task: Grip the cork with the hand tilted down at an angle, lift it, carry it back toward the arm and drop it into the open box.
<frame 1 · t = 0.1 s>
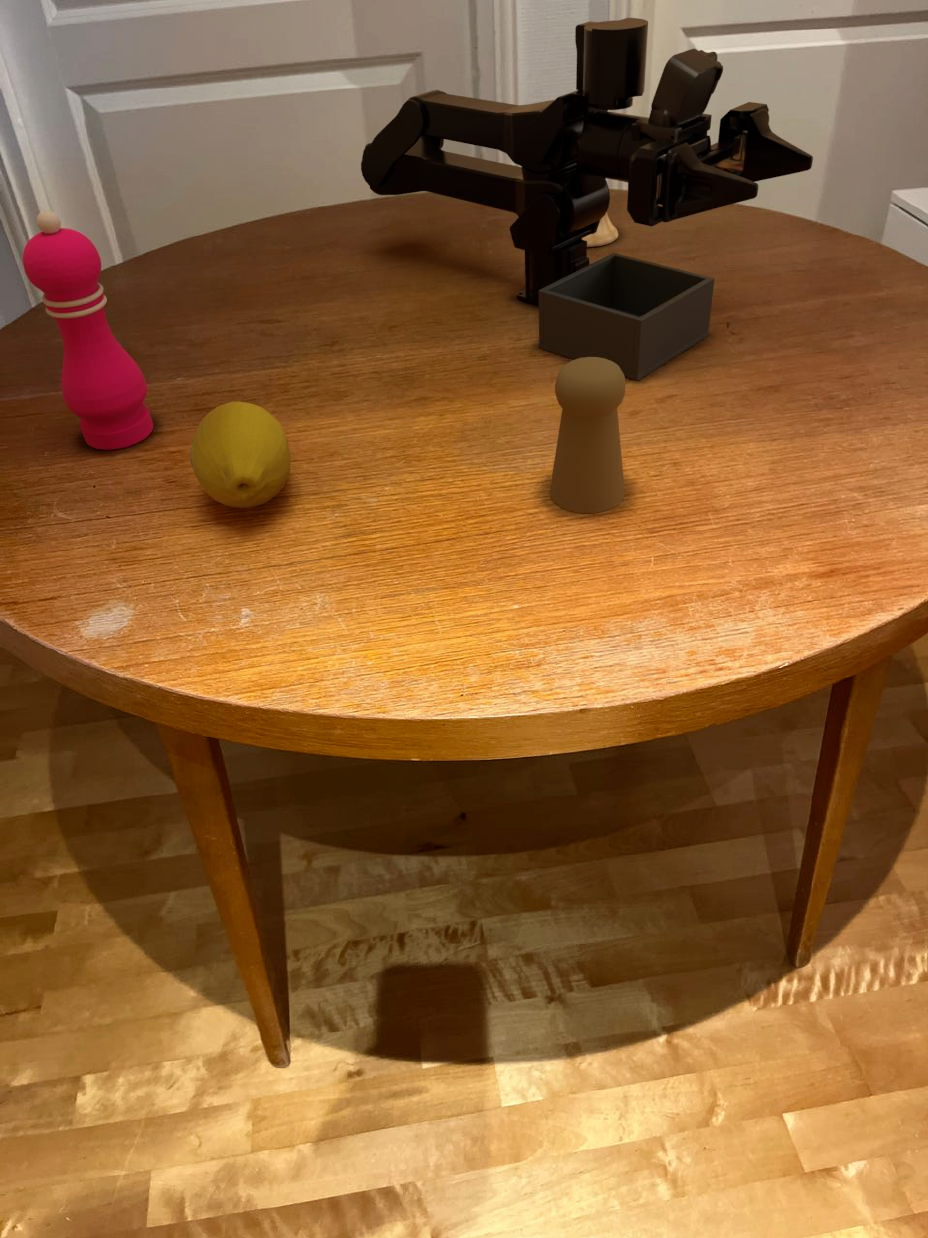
hand: (785, 176, 81), 17 cm above the table, tool horizontal, fingers open, 9 cm apart
hand bell: (585, 237, 120), on the table
open box: (623, 342, 96), on the table
pepper mill: (120, 435, 88), on the table
lemon: (251, 501, 78), on the table
cork: (586, 493, 76), on the table
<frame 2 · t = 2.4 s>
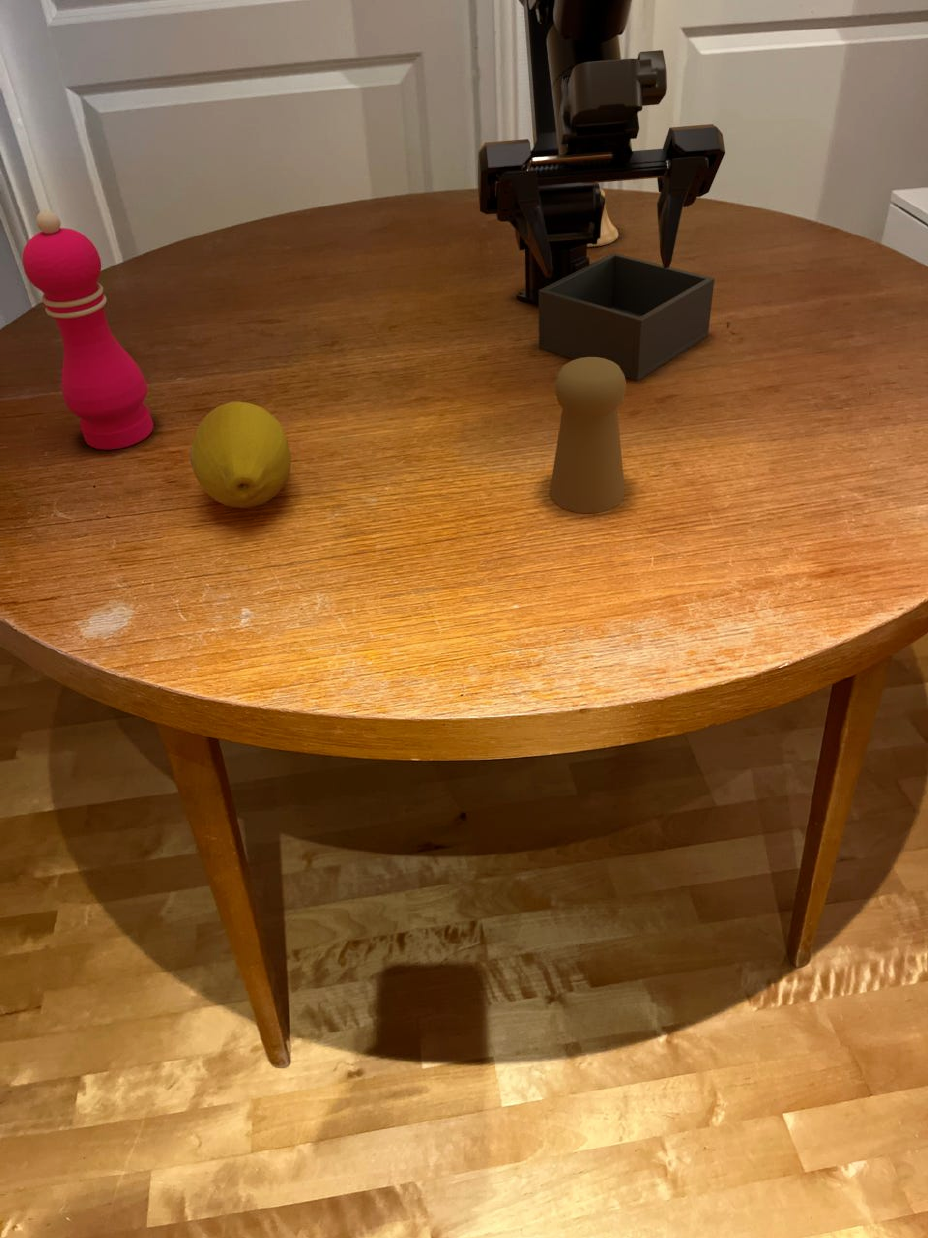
hand: (608, 270, 73), 15 cm above the table, tool tilted 50°, fingers open, 9 cm apart
nothing on the table moved.
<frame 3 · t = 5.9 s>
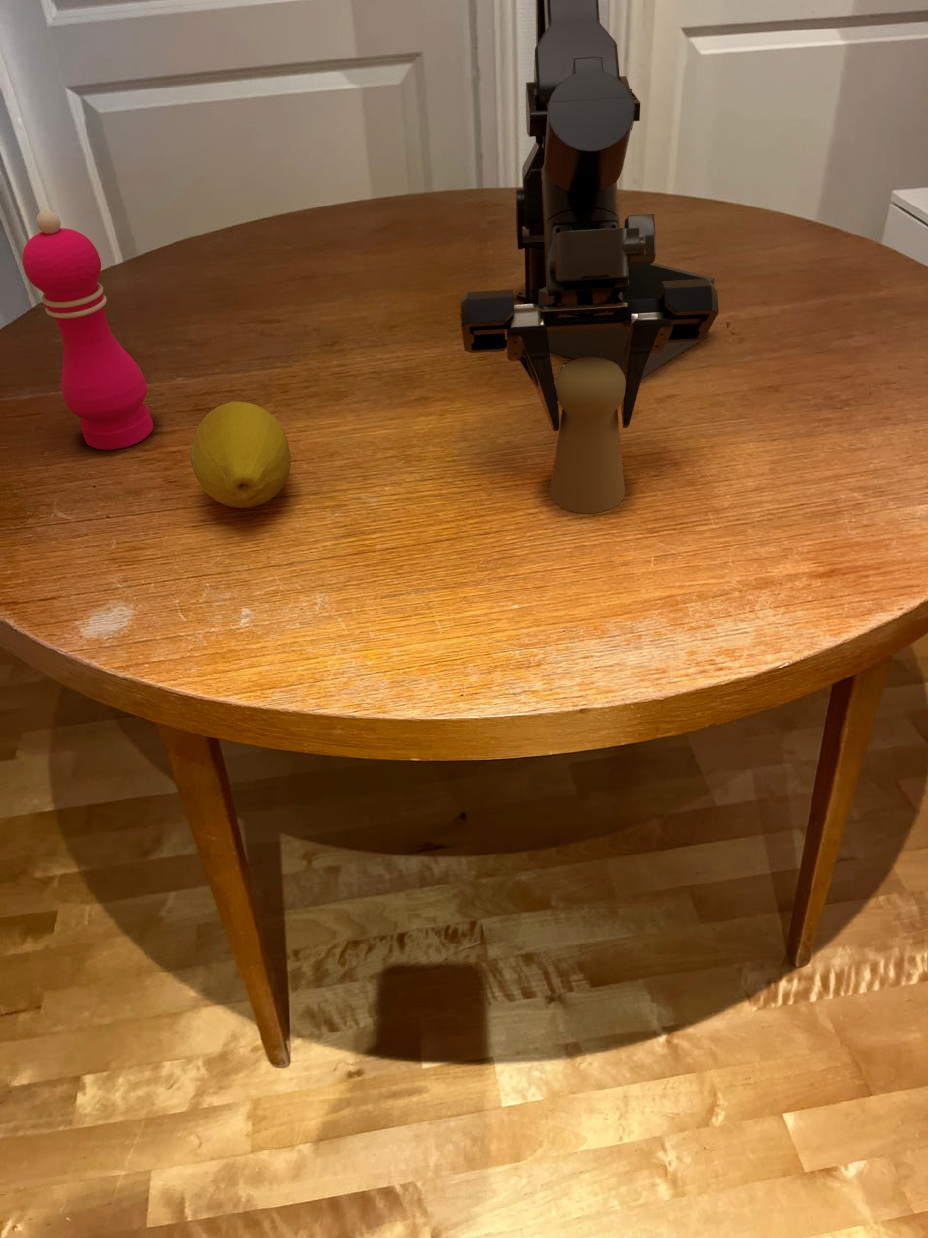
hand: (590, 428, 71), 7 cm above the table, tool tilted 45°, fingers closed on cork, 5 cm apart
cork: (587, 494, 76), on the table, touching gripper
everything else where it was.
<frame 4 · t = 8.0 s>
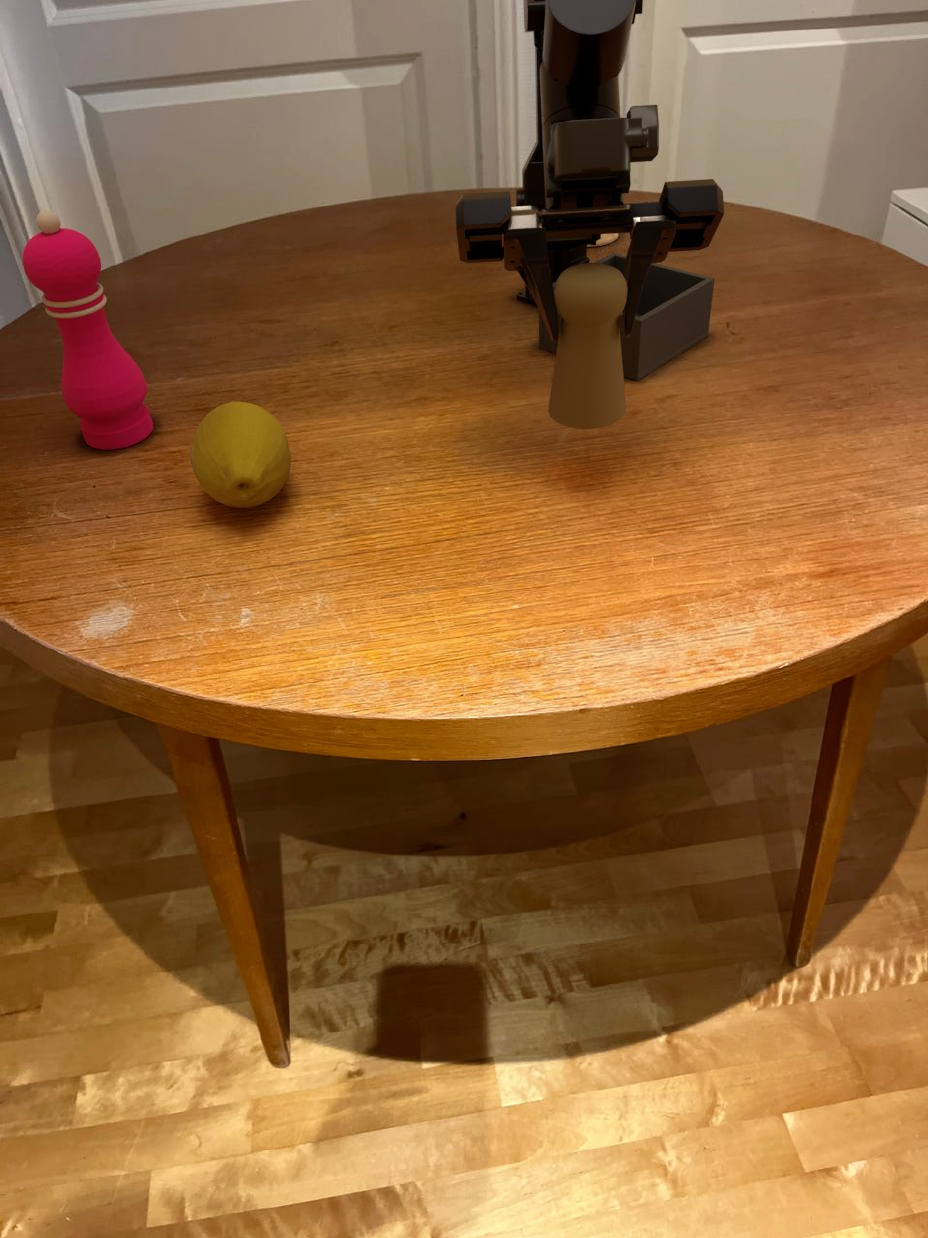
hand: (590, 337, 68), 13 cm above the table, tool tilted 45°, fingers closed on cork, 5 cm apart
cork: (586, 411, 74), point 6 cm above the table, touching gripper
everything else where it was.
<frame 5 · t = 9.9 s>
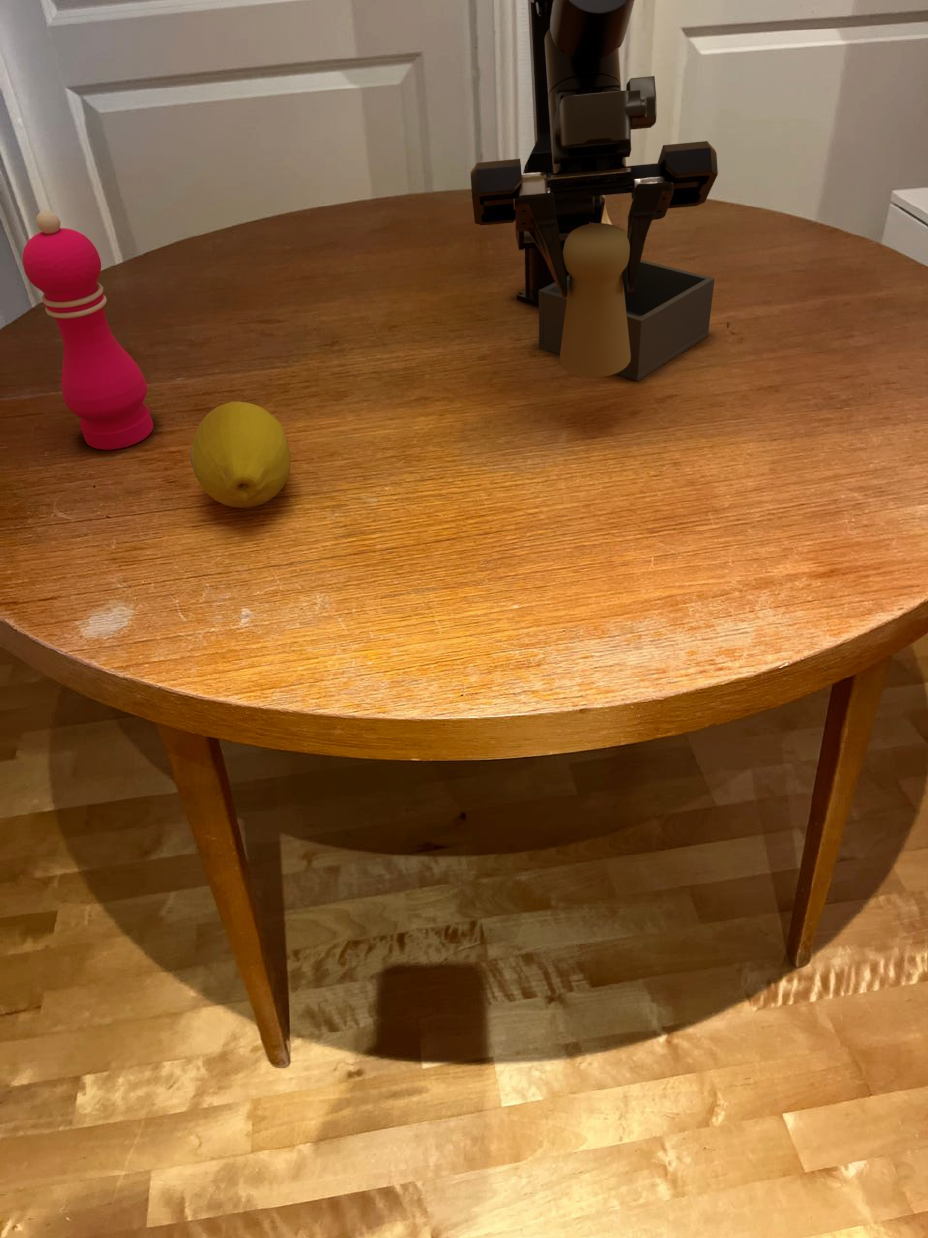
hand: (597, 293, 75), 13 cm above the table, tool tilted 40°, fingers closed on cork, 5 cm apart
cork: (594, 360, 80), point 6 cm above the table, touching gripper
everything else where it was.
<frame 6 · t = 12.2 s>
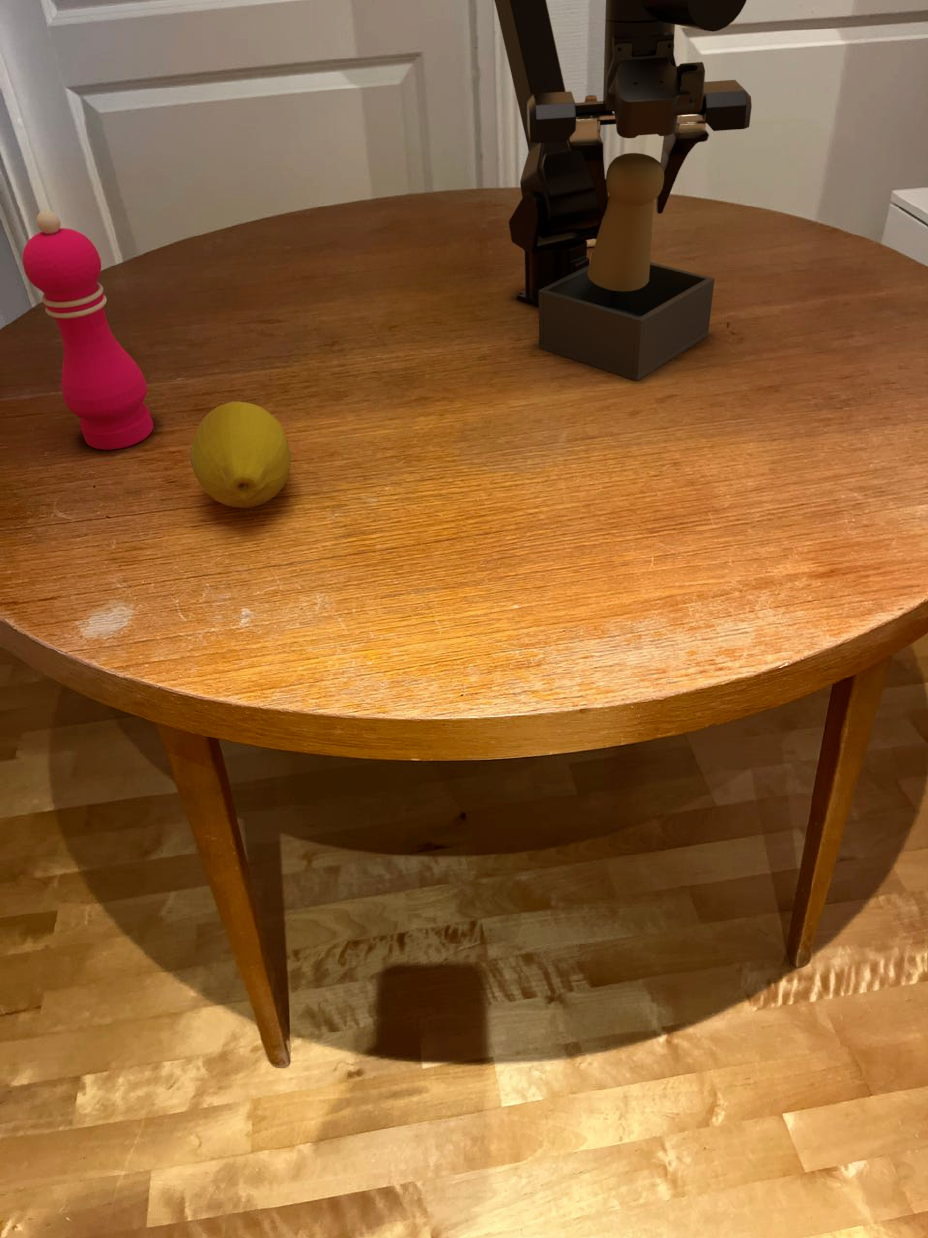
hand: (631, 213, 88), 13 cm above the table, tool pointing down, fingers closed on cork, 5 cm apart
cork: (617, 277, 92), point 7 cm above the table, touching gripper
everything else where it was.
when the fingers open (9 cm above the table, at t = 14.1 s): cork drops 3 cm, resting on open box.
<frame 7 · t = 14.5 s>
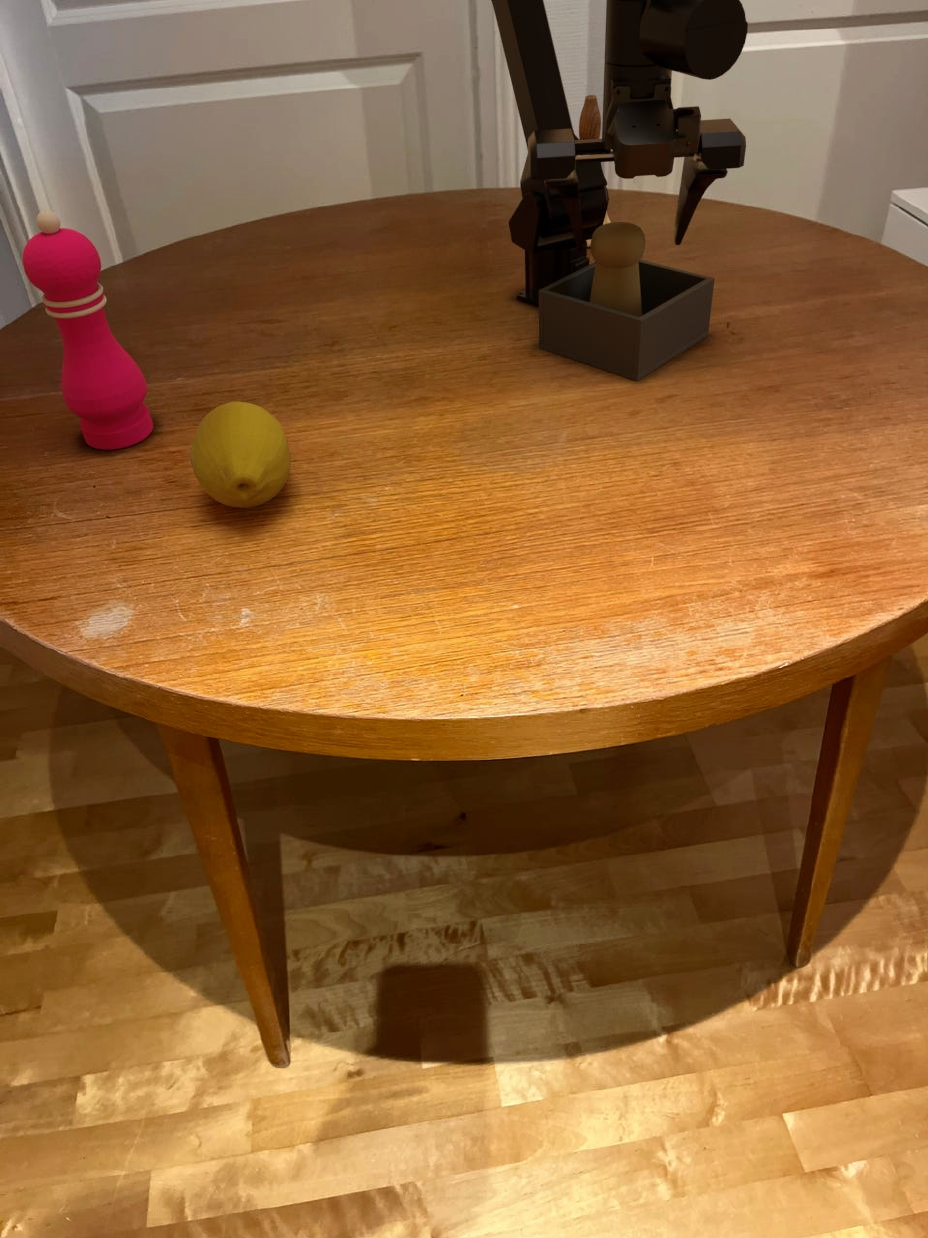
hand: (628, 246, 90), 10 cm above the table, tool pointing down, fingers open, 9 cm apart
cork: (613, 338, 96), resting on open box
everything else where it was.
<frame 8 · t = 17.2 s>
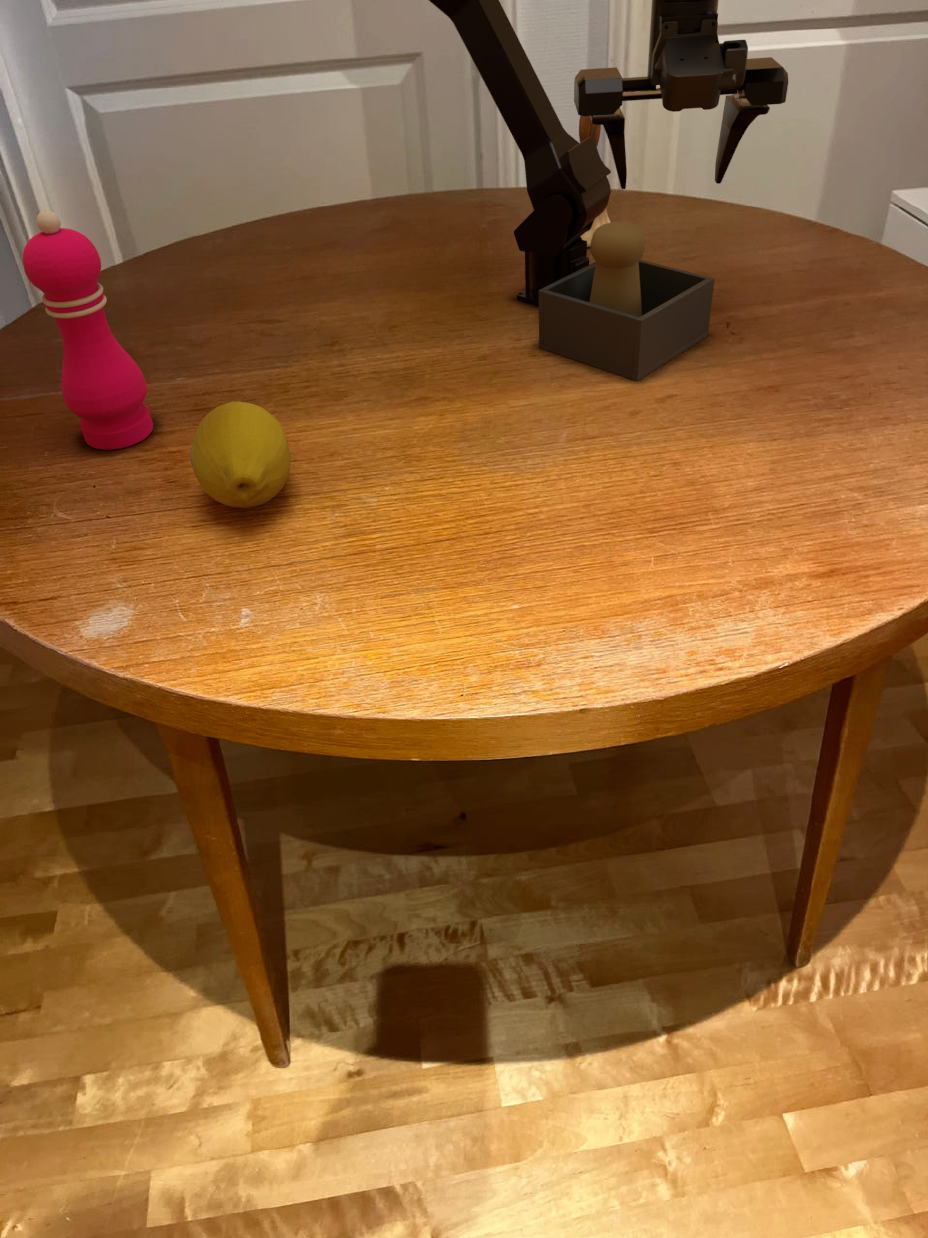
hand: (670, 185, 93), 13 cm above the table, tool pointing down, fingers open, 9 cm apart
nothing on the table moved.
at the end: cork inside the target area in the open box (1.1 cm from its centre), point 0.3 cm above the open box's base; the gripper is holding nothing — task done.
